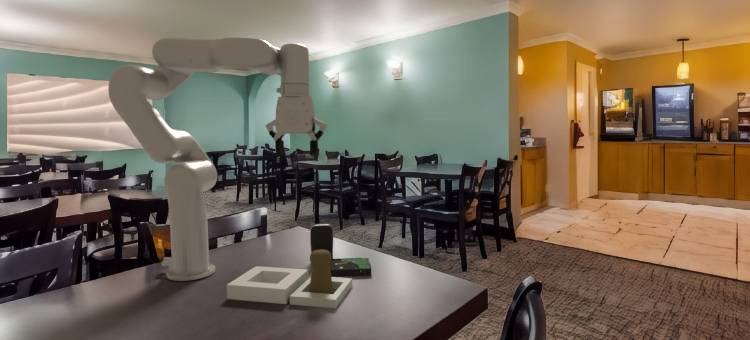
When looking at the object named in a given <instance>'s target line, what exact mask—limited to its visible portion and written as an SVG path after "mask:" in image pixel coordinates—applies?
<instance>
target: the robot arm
mask: <svg viewBox="0 0 750 340" xmlns="http://www.w3.org/2000/svg"><path fill="white" fill-rule="evenodd" d="M151 52H152V53H151V54H152V57H153V59H154V62H155V63H156V64H157V65H156V66H155V68H149V67H147V66H146V67H145V66H143V65H137V64H126V65H125V64H124V65H121V66H119V67H118V68H116V69H115V70H114V71H113V73H112V74H111V76H110V78H109V81H108V86H107V88H108V97H109V100H110V102H111V104H112V106H113V108H114V110H115V111H116V113H117V114H118V115H119V117H120V118H121V119H122V120H123V122H124V124H126V126H127V127H128V128H129V131H131V133H132V135H134V137H135V139H136V140H137V141H138V143H139V144H140V145H141V146H142V149H143V150H144V151H145V152H146V154H147V155H148V156H149V157H150V159H151V160H153V162H156V163H158V164H161V165H162V164H173V165H172V166H170V168H169V169H167V171H166V173H165V176H164V190H165V193H166V199H167V203H168V213H169V215H168V216H169V227H170V229H169V230H170V247H171V248H170V249H171V250H170V252H171V256H169V257H167V256H165V257H163V261H162V262H160V264H161V266H162V267H168V270H167V272H166V273H165V274H166V275H165V277H166V279H168V280H169V281H174V282H186V281H187V282H188V281H195V280H201V279H204V278H207V277H210V276H212V275H213V274H214V273H215V272H216V265H214V264H213V263H210V250H209V231H208V229H209V228H208V209H207V204H206V199H205V196H204V192H206V191H210V190H211V189H212V188H213V187H214V186H216V183H217V181H218V171H217V168H216V166H215V164H214V163H213V161H212V160H211V159H210V157H209V156H208V154H206V152H205V150H204V149H203V148H202V146H201V145H200V144H199V143H198V140H197V139H196V138H195V137H194V136H193V135H191V134H190V133H189V132H187V131H185V130H183V129H182V130H181V129H173V128H171V127H170V126H169V124H168V123H167V122H166V121H165V119H164V118H163V116H162V115H161V113H160V112H159V111H158V109H156V108H155V107H154V105H152V104H151V102H149V100H152V101H157V100H158V101H159V100H162V99H166V98H167V97H169V96H170V95H171V94H173V92H174V91H176V90H177V89H178V88H179V87H181V86H182V85H183V84H184V83H185V82H186V81H187V80H188V79H190V78H191V77H192V76H193V75H194V74H195V73H196V72H199V73H200V72H201V73H217V72H218V73H219V72H220V70H222V69H229V68H230V69H232V68H235V69H252V70H256V71H259V72H260V73H262V74H264V75H270V76H271V75H277V74H280V85H279V87H277V88H276V93H277V94H280V96H278V97H277V101H276V107H275V119H273V120H272V121H271V122H269V123H267V124H266V125H265V128H266V130H267V131H268V134H269V136H270V137H271V138H272V139H273V141H274V143H275V144H274V145H275V153H276V156H283V155H285V143H284V140H283V138H284V137H285V136H286V134H287V135H288V134H290V135H292V134H293V135H294V134H295V135H299V134H305V135H308V136H309V138H310V139H311V140H310V141H309V155H310V156H317V154H318V152H319V141H320V139H321V138H322V136H324V134H325V132H326V129H327V127H328V124H327V123H326V122H323V121H322V120H320V119H318V118H316V114H315V113H316V112H315V108H314V107H315V106H314V101H313V97H312V96H310V64H309V63H310V59H309V56H310V55H309V54H310V53H309V49H308V47H307V46H306V45H304V44H303V43H302V44H301V43H286V44H283V45H282V46H281V47H276V46H274V45H272V44H271V43H270V42H268V41H266V40H263V39H260V38H253V37H252V38H251V37H250V38H249V37H224V38H223V37H222V38H216V39H205V38H204V39H203V38H181V37H164V38H160V39H159V40H157V41H156V42H155V43H154V44H153V46H152V50H151ZM316 126H319V130H318V131H317V132H316V129H317V128H316ZM274 127H275V129H274Z"/></svg>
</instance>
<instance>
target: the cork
mask: <svg viewBox="0 0 750 340" xmlns="http://www.w3.org/2000/svg"><path fill="white" fill-rule="evenodd" d="M309 261H310V263H311V265H312V266H311V274H310V277H311V281H310V290H309V292H311V293H323V294H334V293H335V292H334V289H333V285H332V278H331V272H330V265H329V264H330V262H331V253H330V252H329V251H328V250H315V251H313V252H312V253H311V252H310V254H309Z"/></svg>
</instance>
